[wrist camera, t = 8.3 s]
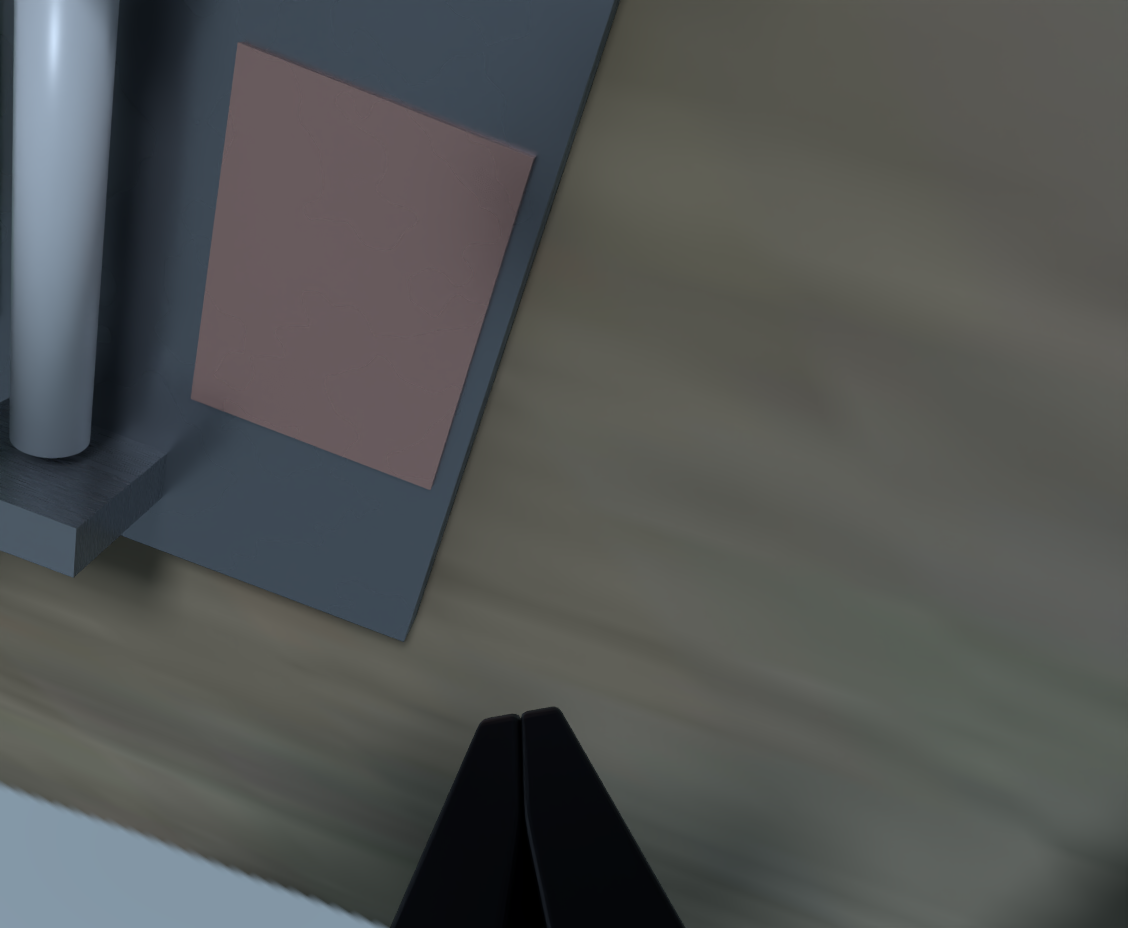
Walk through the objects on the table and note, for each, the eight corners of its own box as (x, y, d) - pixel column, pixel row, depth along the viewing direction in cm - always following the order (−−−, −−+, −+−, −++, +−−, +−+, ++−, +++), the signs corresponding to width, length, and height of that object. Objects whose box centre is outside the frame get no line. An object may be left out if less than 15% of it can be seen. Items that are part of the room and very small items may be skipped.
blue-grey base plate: (660, -123, 15) (639, -163, 11) (415, 618, 24) (355, 739, 20) (-326, -519, 15) (-700, -702, 11) (-206, 384, 24) (-390, 461, 20)
